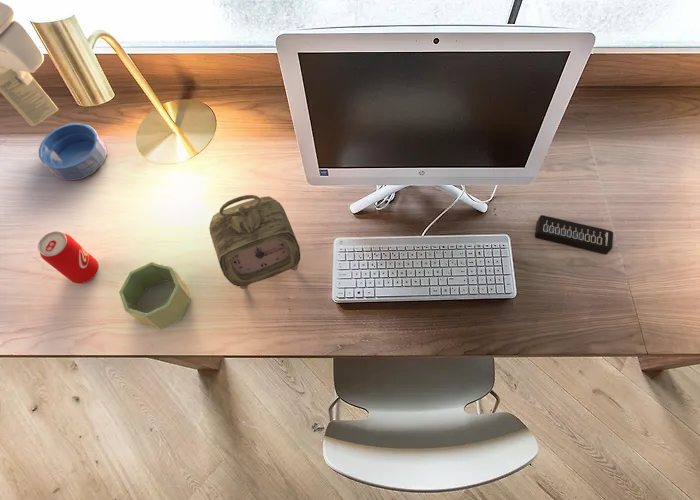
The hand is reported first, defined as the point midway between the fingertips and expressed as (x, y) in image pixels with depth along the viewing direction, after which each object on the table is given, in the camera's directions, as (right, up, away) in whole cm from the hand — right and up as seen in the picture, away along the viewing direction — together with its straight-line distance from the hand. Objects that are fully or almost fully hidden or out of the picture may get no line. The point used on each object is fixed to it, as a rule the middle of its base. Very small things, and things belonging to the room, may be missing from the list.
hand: (10, 78), depth 91 cm
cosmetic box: (0, -4, +8) cm, 9 cm away
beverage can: (+8, -36, +11) cm, 39 cm away
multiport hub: (+108, -29, +11) cm, 113 cm away
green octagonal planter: (+26, -42, +7) cm, 50 cm away
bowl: (-1, -10, +25) cm, 27 cm away
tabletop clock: (+45, -35, +10) cm, 58 cm away
